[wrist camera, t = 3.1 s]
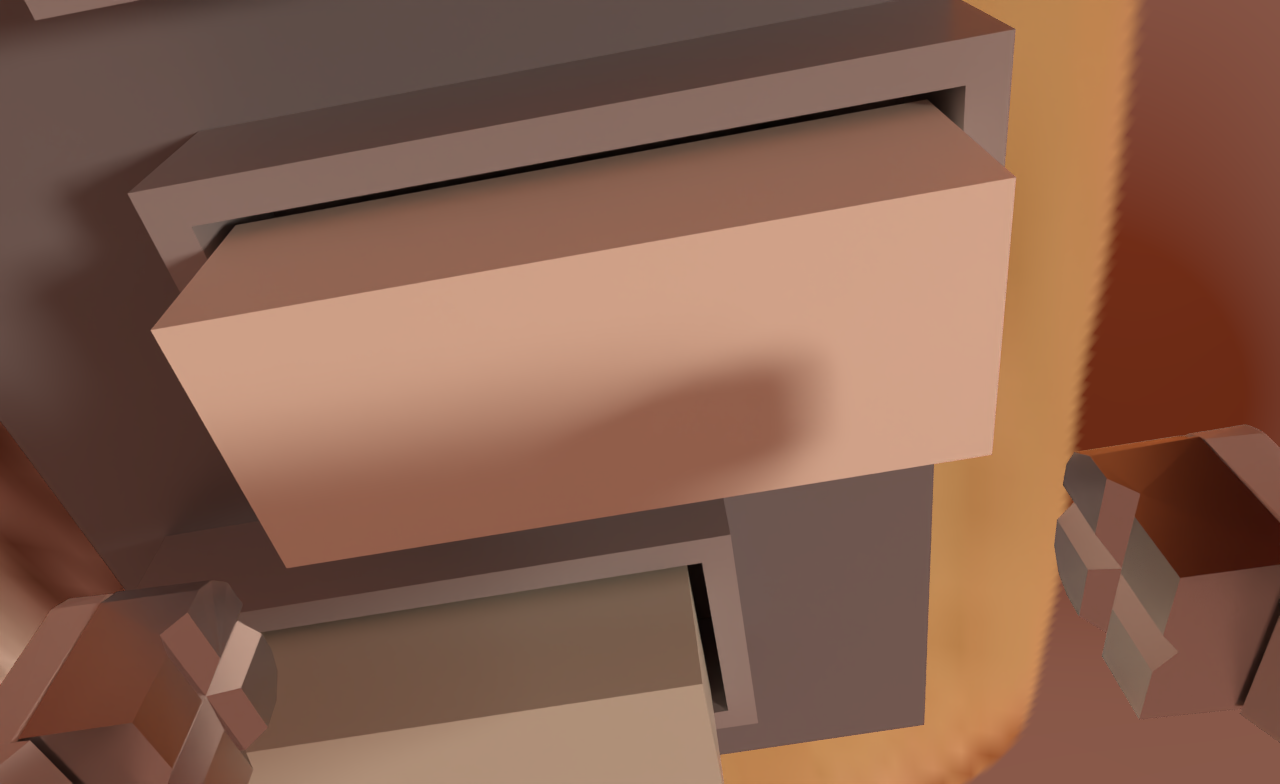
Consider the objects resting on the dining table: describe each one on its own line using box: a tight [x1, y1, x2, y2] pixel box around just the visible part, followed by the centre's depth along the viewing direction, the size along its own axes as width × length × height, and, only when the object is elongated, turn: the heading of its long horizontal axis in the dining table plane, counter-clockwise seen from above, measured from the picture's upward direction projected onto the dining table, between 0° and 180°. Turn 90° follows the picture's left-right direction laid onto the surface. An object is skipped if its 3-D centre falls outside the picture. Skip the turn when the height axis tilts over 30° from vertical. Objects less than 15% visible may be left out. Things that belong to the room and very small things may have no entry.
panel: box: [0, 0, 1015, 755], centre depth 17 cm, size 28×18×7 cm, turn 9°
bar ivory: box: [151, 99, 1016, 568], centre depth 12 cm, size 4×10×3 cm, turn 99°
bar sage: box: [245, 565, 724, 784], centre depth 17 cm, size 4×10×3 cm, turn 99°
